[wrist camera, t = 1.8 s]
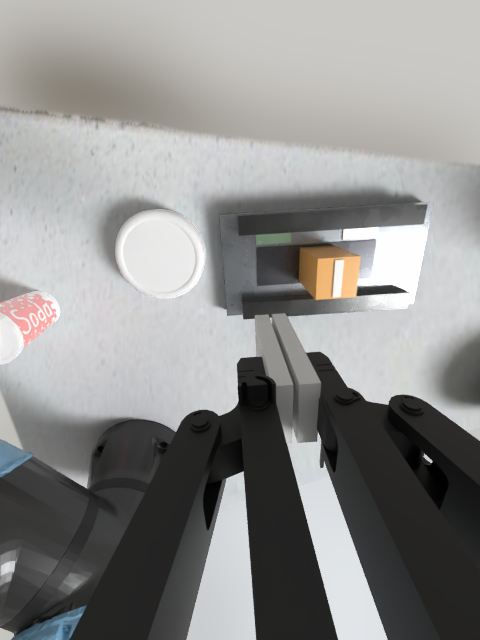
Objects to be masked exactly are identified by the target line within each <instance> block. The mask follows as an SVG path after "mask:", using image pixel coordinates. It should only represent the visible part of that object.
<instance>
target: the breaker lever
mask: <svg viewBox="0 0 480 640" xmlns="http://www.w3.org/2000/svg"><path fill="white" fill-rule="evenodd" d="M360 259H361V256H359V255H357V254H354V253H352V252H349V251H347V250H344V249H342V248H339V247H337V246H335V245H332V246H316V247H300V257H299V282H300V283H301V284H302V285H303V286H304V288H305V289H306V290H307V291H308V292H309V293H310V294H311V295H312V296H313V298H314V299H315V300H322V299H337V298H352V297H356V294H357V285H358V277H359V268H360Z"/></svg>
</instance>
